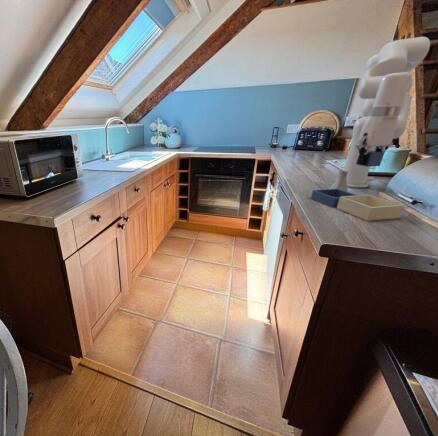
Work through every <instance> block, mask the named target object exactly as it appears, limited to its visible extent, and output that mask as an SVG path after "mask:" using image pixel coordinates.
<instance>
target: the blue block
mask: <svg viewBox="0 0 438 436" xmlns="http://www.w3.org/2000/svg"><path fill="white" fill-rule="evenodd" d="M359 155H360V154H359ZM367 155H369V157H368V160H367V163H366V165H362V166H367V167H370V168H372V167H380V166H381V164H382V161H383V158H384V156H385V153H384V152H377V151H369V153H368V154H367ZM358 158H359V156H358ZM357 161H358V160H357ZM356 164H357V163H356ZM357 165H358V164H357Z"/></svg>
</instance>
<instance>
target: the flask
mask: <svg viewBox="0 0 438 436" xmlns="http://www.w3.org/2000/svg"><path fill="white" fill-rule="evenodd" d="M347 173H348V171H345V170H344V169H342V170H341V169H339V170H338V175H337V177H336V180H334V181H333V183H332V184H331V186H330V187H329V188H328V189H339V190H343V191H346V192H349V191H348V187H347V184H346V176H347Z"/></svg>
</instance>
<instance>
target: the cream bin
mask: <svg viewBox="0 0 438 436" xmlns="http://www.w3.org/2000/svg"><path fill="white" fill-rule="evenodd" d="M357 195H358V196H343V197H340V199H339V202H338V205H337V207H336V209H337V210H340V211H343V212H345V213H347V214H350V215H353V216H355V217H358V218H360V219H362V220H365V221H381V220H393V219H394V220H395V219H400V218H401V216H402V213H403V211H404V208H405V205H404V204H402V203H398V202H394V201H391V200H388V199H384V198H381V197H379V196H375V195H371V194H361V195H360V194H357Z"/></svg>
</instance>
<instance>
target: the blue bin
mask: <svg viewBox="0 0 438 436" xmlns="http://www.w3.org/2000/svg"><path fill="white" fill-rule="evenodd" d="M358 195H359V194H355V193H352V192H349V191H348V192H346V191H343V190H339V189H329V188H328V189H327V188H326V189H325V188H324V189H313V190H312V193H311V196H310V199H311V200H314V201H317V202H319V203H321V204H324V205H326V206H328V207H332V208H337V205H338V202H339V199H340V197H343V196H358Z"/></svg>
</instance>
